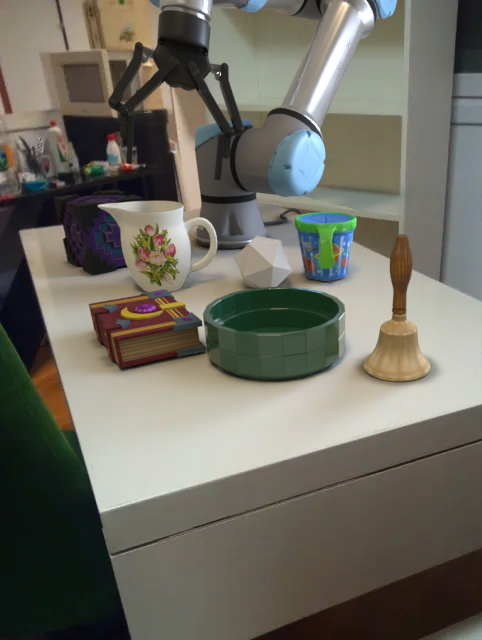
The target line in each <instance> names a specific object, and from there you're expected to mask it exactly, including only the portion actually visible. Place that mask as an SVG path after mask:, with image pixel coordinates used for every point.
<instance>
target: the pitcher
mask: <svg viewBox="0 0 482 640" xmlns="http://www.w3.org/2000/svg"><path fill="white" fill-rule="evenodd" d="M98 207H99V208H100V209H102V210H105V211H106V212H108V213H109V214H111V216H112V217H113V218H114V219H115V220H116V222H117V224H118V225H119V227H120V230H121V245H122V251H123V255H124V259H125V262H126V265H125V266H126V267H127V270H128V271H129V273H130V276H131V277H132V278H133V280H134V281H135V283H136V284H137V285H138V286H139V287H140V288H141V289H142V290H143V291H144V292H145V293H147V292H152V291H158V290H163V289H166V290H167V291H168V292H169V293H173V292H176V291H178V290H180V289H181V288H182V287H183V285H184V283H185V281H186V279H187V278H188V275H189V274H191V273H194V272H197V271H199V270H202V269H204V268H206V267H207V266H208V265H210V263H211V262H213V260H214V258H215V257H216V254H217V250H218V248H217V236H216V232H215V230H214V227H213V226H212V224H211V223H210V222H209V221H208V220H206V219H205V218H201V217H198V216H197V217H194V218H191V219H189V220H184V209H185V207H184V204H183V203H182V202H178V201H174V200H173V201H172V200H143V201H133V202H122V203H108V204H100V205H98ZM198 225H201V226H203V227H205V228H206V229H207V231H208V233H209V235H210V241H211V244H210V247H209V250H208V252H207V253H206V255H204V257H202V258H201V259H200V260H198V261H195V262H191V257H192V249H191V247H192V246H191V239H190V235H189V232H190V230H191V229H192V228H194V227H196V226H197V227H198Z"/></svg>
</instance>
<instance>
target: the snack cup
mask: <svg viewBox="0 0 482 640" xmlns="http://www.w3.org/2000/svg"><path fill="white" fill-rule="evenodd" d="M294 227H295V229H296V231H297V236H298V242H299V248H300V254H301V259H302V264H303V265H302V266H303V269H304V274H305V275H306V277H307V278H308V279H309V280H314V281H321V282H322V281H323V282H331V281H337V280H340V279H344V278H345V277H346V276H347V274H348V271H349V266H350V265H349V264H350V259H351V252H352V247H353V239H354V238H353V237H354V231H355V229H356V228H357V217H356V216H355V215H354V214H351V213H347V212H340V211H339V212H338V211H317V212H307V213H303V214H302V213H301V214H298V215H297V216H296V217H294Z"/></svg>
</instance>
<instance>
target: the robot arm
mask: <svg viewBox="0 0 482 640" xmlns="http://www.w3.org/2000/svg"><path fill="white" fill-rule="evenodd" d="M148 1H149V2H150V4H152V5H153V6H155V8H159V9H160V11H161V12H160V13H159V14H158V23H157V38H156V39H157V41H156V46H155V48H154V49H153V48H150V47H148V46H145V45H144V44H143V43H142V42H141V41H137V42H135V44H134V49H133V55H132V58H131V60H130V61H129V63H128V65H127V67H126V68H125V70H124V72H123V74H122V75H121V77H120V79H119V81H118V82H117V84H116V86H115V87H114V88H113V89H114V90H113V91H112V92H111V94H110V96H109V98H108V100H107V101H108V102H107V103H108V107H109V108H110V109H111V110H113V111H115V112H117V113H118V114H119V115H120V116H119V117H120V120H119V121H120V122H119V123H120V124H119V135H120V139H123V140H127V142H126V164H127V165H133V150H134V130H135V129H134V127H135V116H134V115H131V114H132V113H134V111H135V110H136V109H137V108H139V106H141V104H142V103H144V102H145V101H146V100H147V99H148V98H149V97H150V96H151V95H152V94H153V93H154V92H155V91H156V90H157V89H158V88H160V86H162V84H164V83H165V84H166V85H168V86H169V87H170V88H174V89H178V88H181V89H182V90H184V91H187V92H191V91H194V90H195V91H196V92H197V94H198V96H199V97H200V98H201V100H202V102H203V103H204V105H205V107H206V108H207V110H208V111H209V113H210V115H211V116H212V118H213V120H214V123H213V122H212V123H207V124H202V125H198V127H196V129H195V130H194V153H195V162H196V170H197V179H198V186H199V187H198V188H199V193H200V195H199V196H200V210H199V217H201V218H205V219H206V220H208V221H209V222H210V223H211V224H212V226H213V227H214V230H215V232H216V236H217V249H219V250H220V249H222V250H223V249H224V250H226V249H227V250H228V249H229V250H230V249H233V250H234V249H244V248H245V247H246V246H247V245H248V244H249V243H250V242H251V241H252V240H253V239H254V238H255V237H256V236H260V237H266V238H268V230H267V227H266V226H272V225H279V224H284V223H286V222H288V217H286V215H287V214H289V213H292V212H295V213H297V214H298V215H302V212H301V211H300V210H299V209H298V208H296V207H295V208H293V207H292V208H289V209H286V210H285V211H283V212H282V213H280V214H279V218H280V219H279V220H272V221H264V220H263V217H262V213H261V210H260V208H259V205H258V199H257V194H258V193H259V194H266V195H274V196H279V197H283V198H288V197H303V196H306V195H308V194H309V193H311V192H312V191H314V189H316V187H317V186H318V184H319V183H320V181H321V178H322V177H323V174H324V170H325V166H326V165H325V163H324V161H325V160H326V148H325V143H324V137H323V133H322V132H321V128H322V125H323V123H324V121H325V119H326V117H327V114H328V112H329V110H330V108H331V105H332V103H333V101H334V99H335V96H336V95H337V92H338V89H339V88H340V85H341V83H342V81H343V78H344V76H345V74H346V72H347V69H348V67H349V65H350V62H351V60H352V58H353V56H354V54H355V51H356V49H357V47H358V45H359V43H360V40H364V39H367V37H369V36H370V35H371V33H372V32H373V30H374V27H375V25H376V23H377V21H378V19H383V20H385V19H386V18H390V17H391V16H392V15H393V14H394V12H395V10H396V8H397V2H398V0H148ZM213 9H238V10H242V11H244V12H246V13H256V12H258V11H260V10H273V11H275V12H276V13H277V14H279V15H280V16H284V17H296V18H302V19H307V20H313V21H319V22H318V24H317V25H316V28H315V30H314V33H313V35H312V37H311V39H310V41H309V44H308V46H307V49H306V51H305V52H304V55H303V57H302V59H301V61H300V63H299V66H298V67H297V69H296V72H295V75H294V76H293V79H292V81H291V83H290V85H289V87H288V90H287V92H286V93H285V96H284V98H283V100H282V103H281V104H280V106H274V107H273V108H271V109H270V110H269V111H268V114H267V116H266V118H265V119H264V122H263V124H262V126H261V127H254V125H253V122H252V120H251V119H249V118H248V119H247V118H246V119H244V118H243V119H242V117H241V114H240V110H239V108H238V104H237V101H236V98H235V95H234V93H233V89H232V86H231V83H230V76H229V75H230V72H229V71H230V70H229V69H230V67H229V65H228V64H229V63H227V62H222V63H221V64H220V63H212V62H210V57H209V53H210V40H211V29H212V28H211V26H210V24H209V23H210V22H211V21H212V18H213V17H212V16H213V14H212V13H213ZM150 59H152V60H153V62H154V64H155V66H156V68H157V70H156V72H155V73H154V74H153V75H152V76H151V77H150V78H149V79H148V80H147V81H146V82H145V83H144V84H143V85H142V86H141V87H140V88H139V89H138V90H137V91H136V92H135V93H133V95H132V96H131V97H129V98H128V100H127V101H126V102H125V103H122V100H123V98H124V97H125V95H126V93H127V92H128V90H129V88H130V86H131V85H132V83H133V81H134V79H135V78H136V76H137V74H138V72H139V71H140V69H141V66H142V64H147V63H148V61H149V60H150ZM210 73H211V74H213V77H214V80H215V81H216V82H218V83H219V89H220V91H221V95H222V98H223V101H224V104H225V106H226V110H227V113H228V116H229V119H230V120H228V119H227V118H226V117H225V115H224V113H223V111H222V110H221V108H220V106H219V104H218V103H217V101H216V99H215V98H214V96H213V94H212V93H211V91H210V88H209V86H208V84H207V83H206V81H205V79H206V77H207V76H208V75H209V74H210ZM195 231H196V232H195V238H196V243H197V244H198V245H199V246H201V247H205V248H210V244H211V241H210V235H209V233H208V231H207V229H206V228H205V227H203V226H201V225H197V228H196V229H195Z"/></svg>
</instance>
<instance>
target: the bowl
mask: <svg viewBox="0 0 482 640" xmlns="http://www.w3.org/2000/svg"><path fill="white" fill-rule="evenodd" d="M202 318H203V327H204V336H205V344H206V345H205V346H206V352H207V355H208V357H209V359H210V361H211V362H212V363H213V364H215V365H217V366H218V367H219V368H221V369H223V370H224V371H226V372H228V373H230V374H232V375H236V376H239V377H242V378H243V377H244V378H246V379H254V380H266V381H268V380H269V381H278V380H279V381H280V380H289V379H296V378H302V377H305V376H309V375H313V374H316V373H318V372H320V371H323V370H325V369H327V368H328V367H329V366H331V365H332V364H333V363H335V362H336V361H338V360H339V359H340V358H341V357H342V355H343V354H344V352H345V351H346V350H345V349H346V307H345V303H343V302H342V300H340V299H339V298H338V297H336V296H334V295H332V294H330V293H328V292H326V291H321V290H317V289H311V288H305V287H295V286H277V287H264V288H255V289H254V288H247V289H243V290H238V291H234V292H231V293H228V294H225V295H223V296H220V297H217V298H215V299H214V300H212V301H211V302H210V303H208V304H207V305H206V306H205V308H204V310H203V311H202Z"/></svg>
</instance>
